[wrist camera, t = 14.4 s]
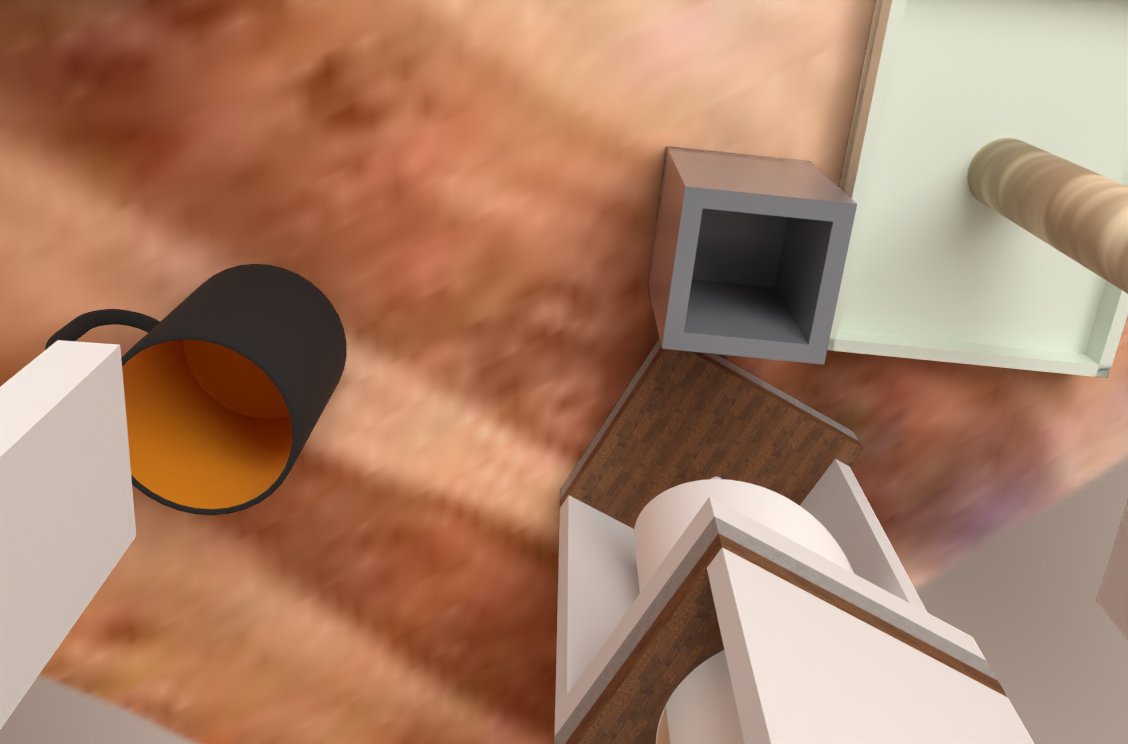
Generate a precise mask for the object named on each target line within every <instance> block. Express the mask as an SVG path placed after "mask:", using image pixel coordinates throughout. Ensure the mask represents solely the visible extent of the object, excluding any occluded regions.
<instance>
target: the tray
mask: <svg viewBox="0 0 1128 744" xmlns="http://www.w3.org/2000/svg"><path fill="white" fill-rule="evenodd" d="M1001 138H1015V139H1019V140H1021V141H1024V142H1026V143H1028V144H1030V145H1033V146H1035V147H1037V148H1040V149H1042V150H1044V151H1047V152H1049V153H1051V154H1054V155H1056V156H1058V157H1061V158H1063V159H1065V160H1068V161H1070V162H1072V163H1075V164H1077V165H1079V166H1082V167H1084V168H1086V169H1088V170H1091V171H1093V172H1095V173H1098V174H1100V175H1102V176H1105V177H1107V178H1109V179H1112V180H1114V181H1116V182H1119V183H1121V184H1123V185H1126V186H1128V0H876V4H875V9H874V14H873V19H872V24H871V29H870V34H869V39H868V44H867V49H866V54H865V59H864V64H863V69H862V74H861V79H860V84H859V89H858V94H857V99H856V104H855V109H854V114H853V119H852V125H851V130H850V135H849V140H848V145H847V150H846V155H845V160H844V165H843V170H842V175H841V180H840V185H839V188H840V189H841V190H842V191H844V192H845V193H846V194H847V195H848V196H849V197H850V198H851V199H852V200H854V201H855V202H856V203H857V208H856V213H855V218H854V223H853V227H852V232H851V237H850V242H849V247H848V252H847V257H846V261H845V266H844V271H843V276H842V281H841V286H840V291H839V295H838V300H837V305H836V310H835V315H834V320H833V324H832V329H831V334H830V339H829V344H828V349H827V350H831V351H841V352H851V353H861V354H871V355H881V356H891V357H901V358H912V359H922V360H932V361H942V362H952V363H962V364H972V365H982V366H992V367H1003V368H1013V369H1023V370H1033V371H1043V372H1053V373H1063V374H1073V375H1083V376H1094V377H1104V378H1108V376H1109V372H1110V369H1111V366H1112V363H1113V360H1114V356H1115V353H1116V350H1117V347H1118V344H1119V340H1120V337H1121V334H1122V331H1123V328H1124V325H1125V321H1126V318H1127V315H1128V294H1127V293H1126V292H1124V291H1122V290H1121V289H1119V288H1118V287H1116V286H1114V285H1113V284H1111V283H1110V282H1108V281H1106V280H1105V279H1103V278H1102V277H1100V276H1098V275H1097V274H1095V273H1094V272H1092V271H1090V270H1089V269H1087V268H1086V267H1084V266H1082V265H1081V264H1079V263H1078V262H1076V261H1074V260H1073V259H1071V258H1069V257H1068V256H1066V255H1065V254H1063V253H1061V252H1060V251H1058V250H1057V249H1055V248H1053V247H1052V246H1050V245H1049V244H1047V243H1045V242H1044V241H1042V240H1041V239H1039V238H1037V237H1036V236H1034V235H1033V234H1031V233H1029V232H1028V231H1026V230H1025V229H1023V228H1021V227H1020V226H1018V225H1017V224H1015V223H1013V222H1012V221H1010V220H1009V219H1007V218H1005V217H1004V216H1002V215H1001V214H999V213H997V212H996V211H994V210H993V209H991V208H989V207H988V206H986V205H985V204H983V203H981V202H980V201H978V200H977V199H976V198H975V197H974V195H973V194H972V192H971V191H970V188H969V185H968V169H969V166H970V163H971V161H972V159H973V158H974V156H975V155H976V153H977V152H978V151H979V150H980V149H981V148H982V147H983V146H985V145H986V144H988V143H990V142H992V141H994V140H997V139H1001Z"/></svg>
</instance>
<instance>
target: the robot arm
mask: <svg viewBox="0 0 1128 744" xmlns="http://www.w3.org/2000/svg"><path fill="white" fill-rule="evenodd" d="M135 537H136V526H135V514H134V502H133V491H132V479H131V467H130V455H129V443H128V431H127V419H126V408H125V396H124V384H123V372H122V360H121V348H120V345H117V344H103V343H89V342H76V341H62V340H57V341H56V342H55V343H54V344H53V345H51V346H50V347H49V348H48V349H46V350H45V351H44V352H43V353H41V354H40V355H39V356H38V357H37V358H35V359H34V360H33V361H32V362H30V363H29V364H28V365H27V366H25V367H24V368H23V369H22V370H20V371H19V372H18V373H17V374H16V375H14V376H13V377H12V378H11V379H9V380H8V381H7V382H6V383H4V384H3V385H2V386H1V387H0V729H1V728H2V726H3V725H4V724H5V722H6V721H7V719H8V718H9V716H10V715H11V714H12V712H13V711H14V709H15V708H16V706H17V705H18V704H19V702H20V701H21V700H22V698H23V697H24V695H25V694H26V692H27V691H28V690H29V688H30V687H31V685H32V684H33V682H34V681H35V680H36V678H37V677H38V675H39V674H40V672H41V671H42V670H43V668H44V667H45V665H46V664H47V663H48V661H49V660H50V658H51V657H52V655H53V654H54V653H55V651H56V650H57V648H58V647H59V645H60V644H61V643H62V641H63V640H64V638H65V637H66V636H67V634H68V633H69V631H70V630H71V628H72V627H73V626H74V624H75V623H76V621H77V620H78V618H79V617H80V616H81V614H82V613H83V611H84V610H85V608H86V607H87V606H88V604H89V603H90V601H91V600H92V599H93V597H94V596H95V594H96V593H97V591H98V590H99V589H100V587H101V586H102V584H103V583H104V581H105V580H106V579H107V577H108V576H109V574H110V573H111V571H112V570H113V569H114V567H115V566H116V564H117V563H118V562H119V560H120V559H121V557H122V556H123V554H124V553H125V552H126V550H127V549H128V547H129V546H130V544H131V543H132V542H133V540H134V539H135ZM1096 601H1097V602H1098V604H1099V605H1100V606H1101V607H1102V609H1103V610H1104V611H1105V612H1106V614H1107V615H1108V616H1109V617H1110V619H1111V620H1112V621H1113V622H1114V624H1115V625H1116V626H1117V627H1118V629H1119V630H1120V631H1121V632H1122V634H1123V635H1124V636H1125V637H1126V639H1127V640H1128V501H1127V504H1126V508H1125V511H1124V514H1123V517H1122V520H1121V523H1120V526H1119V529H1118V532H1117V536H1116V539H1115V542H1114V545H1113V548H1112V551H1111V554H1110V558H1109V561H1108V564H1107V567H1106V570H1105V573H1104V576H1103V579H1102V583H1101V586H1100V589H1099V592H1098V595H1097V598H1096Z"/></svg>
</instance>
